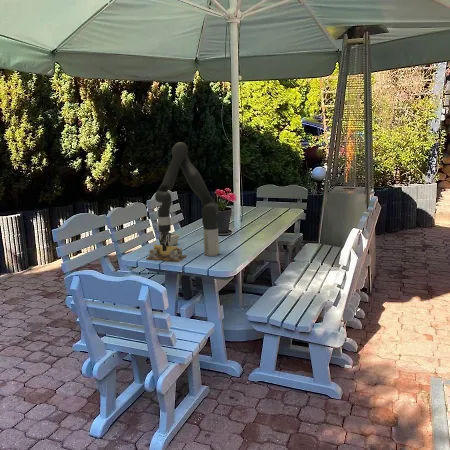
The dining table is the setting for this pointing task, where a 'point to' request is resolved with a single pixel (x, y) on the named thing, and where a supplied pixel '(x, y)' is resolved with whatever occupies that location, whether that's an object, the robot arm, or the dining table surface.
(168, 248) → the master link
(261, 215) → the dining table surface
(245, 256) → the dining table surface
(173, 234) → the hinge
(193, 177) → the robot arm
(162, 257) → the chain bed
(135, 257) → the dining table surface
